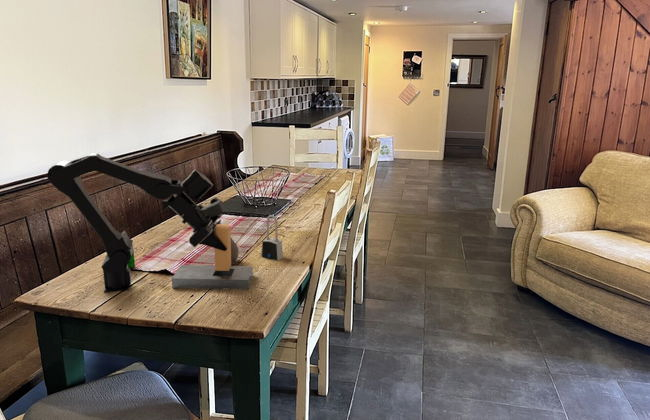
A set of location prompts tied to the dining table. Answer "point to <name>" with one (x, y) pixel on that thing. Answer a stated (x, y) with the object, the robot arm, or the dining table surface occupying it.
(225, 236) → the peg
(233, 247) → the vase
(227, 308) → the dining table surface
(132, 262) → the rubik's cube
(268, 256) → the padlock
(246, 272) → the rail
